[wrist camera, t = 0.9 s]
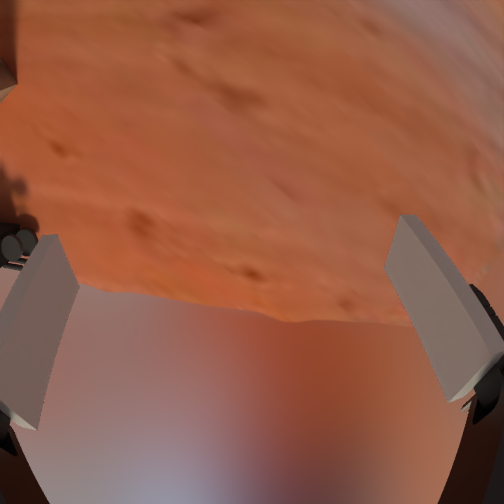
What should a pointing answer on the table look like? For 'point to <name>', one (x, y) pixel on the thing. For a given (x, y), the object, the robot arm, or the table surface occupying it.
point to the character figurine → (15, 245)
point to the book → (5, 81)
